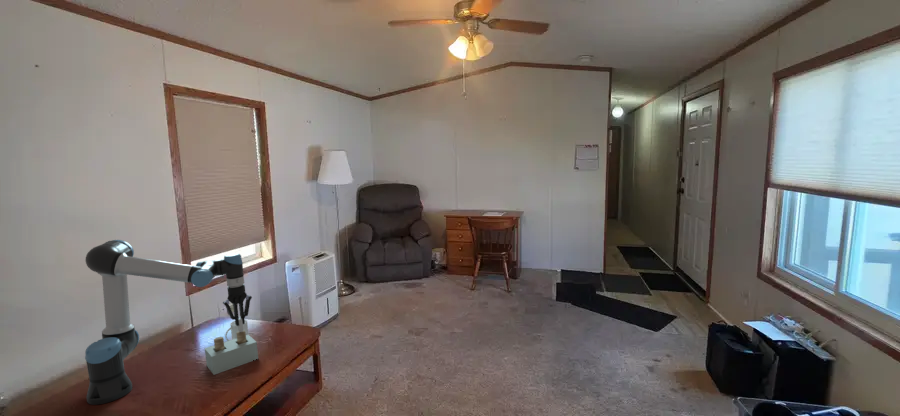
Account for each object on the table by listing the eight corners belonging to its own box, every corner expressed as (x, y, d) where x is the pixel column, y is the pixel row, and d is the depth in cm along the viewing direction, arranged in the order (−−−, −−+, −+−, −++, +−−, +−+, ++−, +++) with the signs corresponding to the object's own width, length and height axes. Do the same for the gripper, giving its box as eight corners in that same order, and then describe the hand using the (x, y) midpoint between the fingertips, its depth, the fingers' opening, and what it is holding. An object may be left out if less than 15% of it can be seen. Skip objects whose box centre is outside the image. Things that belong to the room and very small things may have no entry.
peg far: (239, 349, 200) (237, 334, 199) (236, 347, 203) (235, 332, 202) (248, 347, 203) (246, 331, 202) (245, 344, 206) (243, 329, 204)
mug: (229, 350, 212) (227, 329, 210) (223, 346, 218) (220, 325, 216) (252, 342, 221) (250, 321, 219) (245, 338, 226) (243, 317, 225)
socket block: (213, 374, 189) (211, 356, 188) (206, 365, 198) (204, 348, 196) (258, 358, 203) (256, 341, 202) (250, 350, 211) (248, 334, 210)
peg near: (216, 357, 193) (215, 341, 192) (214, 354, 196) (212, 338, 195) (226, 354, 196) (224, 338, 195) (223, 351, 199) (221, 336, 198)
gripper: (223, 290, 191) (228, 337, 194) (252, 283, 200) (257, 328, 203) (219, 287, 197) (224, 333, 200) (247, 280, 205) (252, 324, 209)
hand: (240, 330), depth 202 cm, fingers closed
